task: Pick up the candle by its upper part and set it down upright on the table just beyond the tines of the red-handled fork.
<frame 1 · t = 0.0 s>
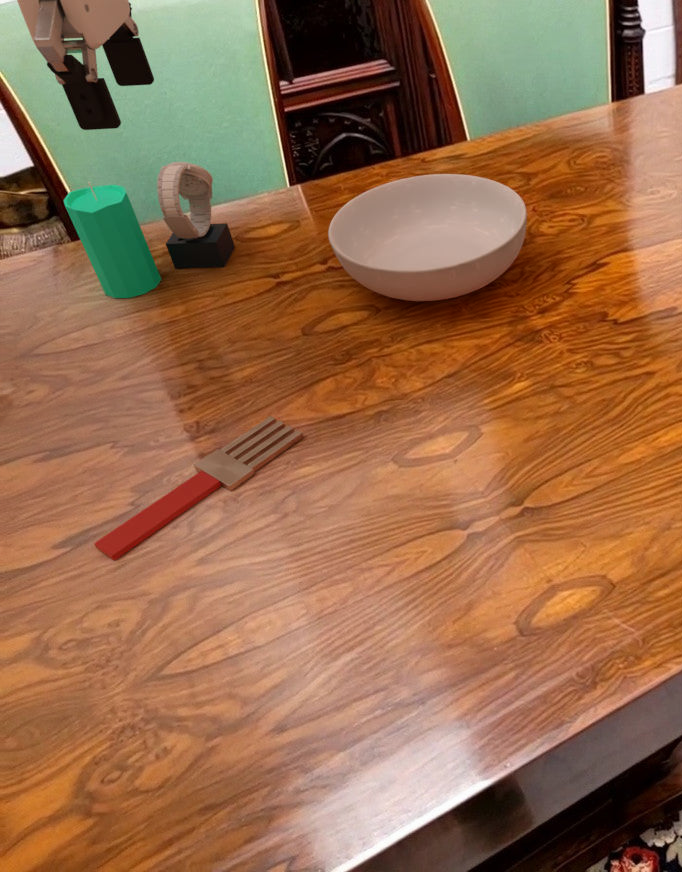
hand: (120, 105, 82), 23 cm above the table, tool pointing down, fingers open, 9 cm apart
candle: (133, 285, 103), on the table
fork: (203, 487, 79), on the table
serving bowl: (438, 274, 104), on the table
watch: (206, 258, 107), on the table
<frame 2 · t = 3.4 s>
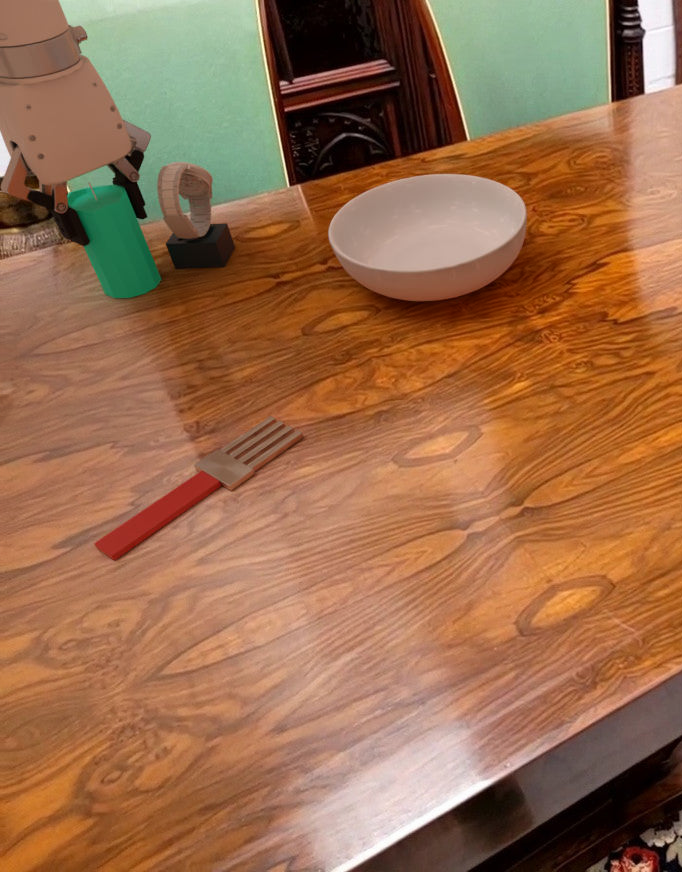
hand: (108, 227, 98), 7 cm above the table, tool pointing down, fingers closed on candle, 6 cm apart
candle: (133, 285, 103), on the table, touching gripper
everything else where it was.
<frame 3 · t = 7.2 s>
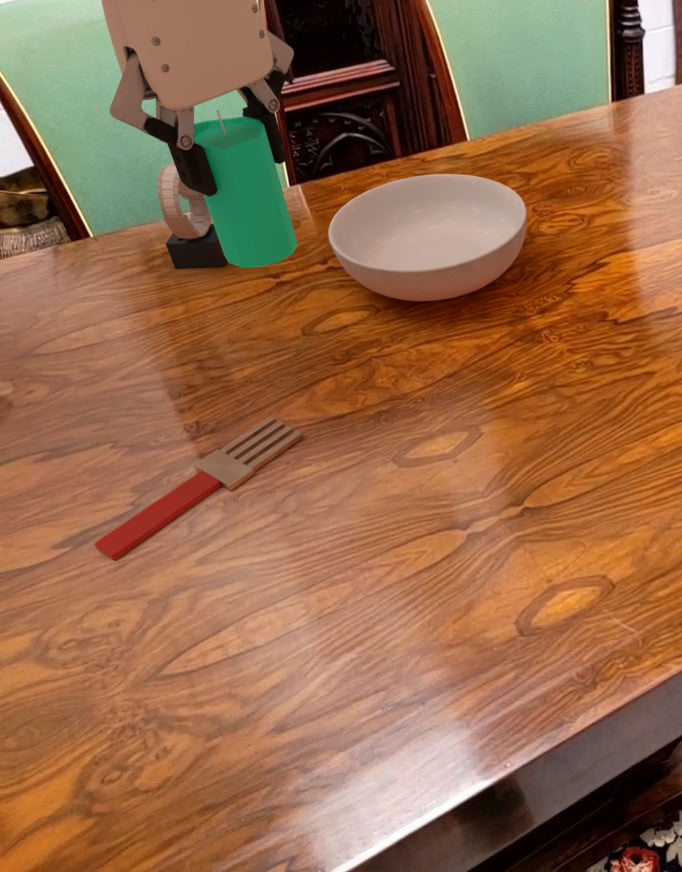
hand: (237, 172, 75), 22 cm above the table, tool pointing down, fingers closed on candle, 6 cm apart
candle: (261, 251, 79), point 14 cm above the table, touching gripper
everything else where it was.
when the fingers open (7 cm above the table, at t = 11.2 s): candle stays where it is, on the table.
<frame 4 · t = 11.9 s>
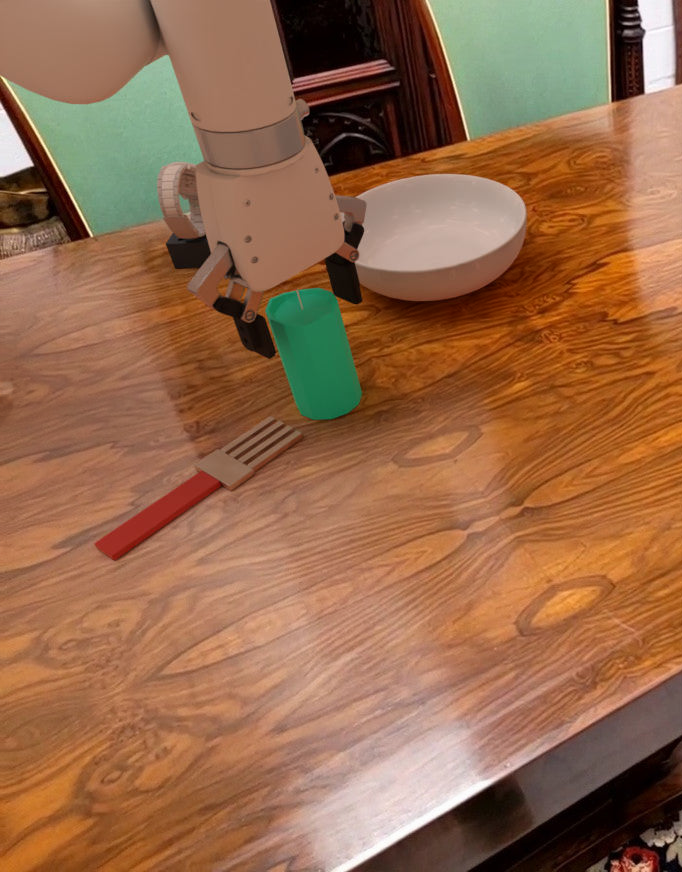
hand: (306, 324, 82), 8 cm above the table, tool pointing down, fingers open, 9 cm apart
candle: (329, 401, 87), on the table
everything else where it was.
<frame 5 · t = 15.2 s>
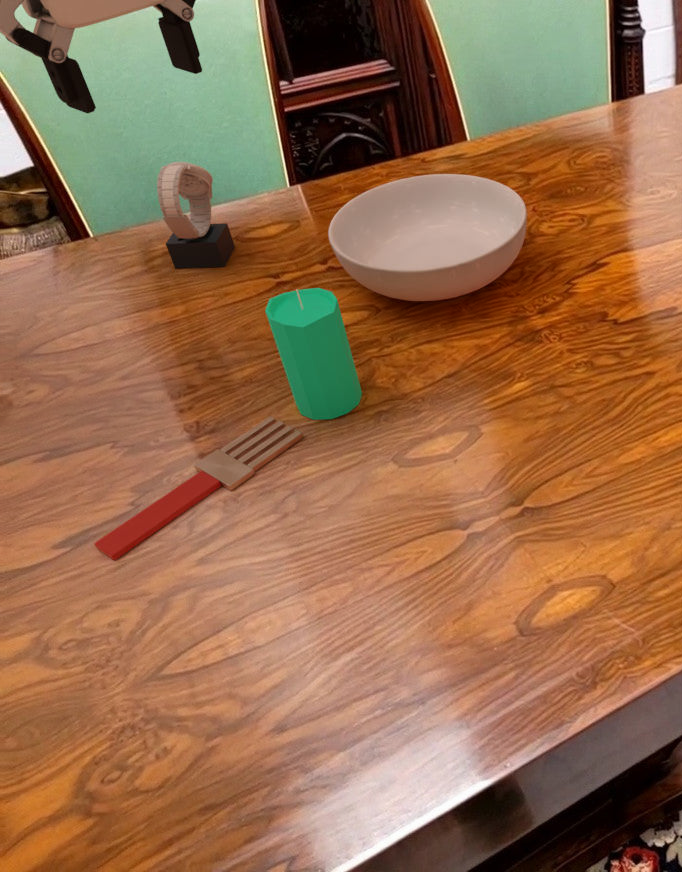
hand: (137, 88, 76), 26 cm above the table, tool pointing down, fingers open, 9 cm apart
nothing on the table moved.
at the end: candle inside the target area on the table beside the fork (0.1 cm from its centre), on the table; candle tilted 0°; the gripper is holding nothing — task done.
